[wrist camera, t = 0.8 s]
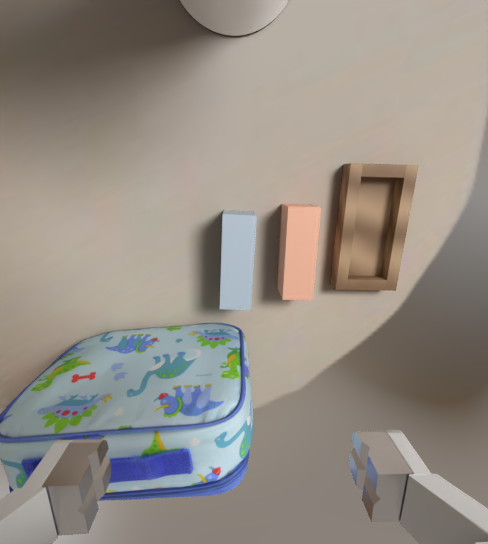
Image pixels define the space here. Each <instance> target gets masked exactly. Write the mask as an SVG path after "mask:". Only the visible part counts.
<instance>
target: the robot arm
mask: <svg viewBox="0 0 488 544" xmlns="http://www.w3.org/2000/svg"><path fill="white" fill-rule="evenodd" d="M288 1H289V0H180V2H181V3H182V5H183V6H184V7H185V9H186V10H187V11H188V12H189V14H190V15H191V16H192V17H193V18H194V19H195V20H196V21H198V22H199V23H200V24H202V25H203V26H205V27H206V28H208V29H210V30H212V31H214V32H217V33H220V34H224V35H232V36H238V35H246V34H250V33H253V32H255V31H258V30H260V29H262V28H263V27H265V26H266V25H268V24H269V23H270V22H272V21H273V20H274V19H275V18H276V17H277V16H278V15H279V14H280V12H281V11H282V10H283V8H284V7H285V5H286V4H287V2H288ZM352 443H353V445H354V449H353V450H352V451H351V452H350V466H351V472H352V475H353V479H354V481H355V484H356V486H358V487H359V488H360V489H361V490H362V491H363V495H362V501H363V503H364V505H365V508H366V510H367V513H368V515H369V517H370V520H371V522H400V524H401V525H402V526H403V527H404V528H405V529H406V531H407V532H408V533H409V534H410V535H411V536H412V537H413V538H414V539H415V540H416V541H417V542H418V543H419V544H488V509H487V508H486V507H484V506H483V505H481V504H480V503H478V502H477V501H476V500H474V499H473V498H471V497H469V496H468V495H467V494H465V493H464V492H462V491H461V490H459V489H457V488H456V487H455V486H453V485H452V484H450V483H449V482H448V481H446V480H444V479H443V478H442V477H440V476H439V475H437V474H431V473H430V471H429V470H428V468H427V467H426V465H425V464H424V463H423V461H422V460H421V458H420V457H419V456H418V454H417V453H416V451H415V450H414V448H413V447H412V445H411V444H410V443H409V442H408V440H407V438H406V437H405V436H404V434H403V433H402V432H401V431H400V430H384V431H360V432H354V433H353V436H352ZM108 449H109V448H108V443H107V441H106V440H58V441H56V442H55V443H54V444H53V445H52V446H51V448H50V449H49V450H48V452H47V453H46V455H45V456H44V457H43V459H42V460H41V462H40V463H39V464H38V466H37V467H36V469H35V470H34V471H33V473H32V474H31V476H30V477H29V478H28V480H27V481H26V483H25V484H24V485H23V487H22V488H16V489H15V490H13V491H12V492H11V493H9V494H8V495H7V496H5V497H4V498H2V499H1V500H0V544H52V543H53V542H54V541H55V540H56V539H57V538H58V535H72V534H86V533H89V530H90V528H91V526H92V523H93V521H94V519H95V516H96V514H97V511H98V504H97V501H98V500H99V499H100V498H101V497H102V496H103V495H104V494H105V492H106V490H107V488H108V485H109V481H110V476H111V460H110V459H109V458H108V457H107V456H106V453H107V451H108Z"/></svg>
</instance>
